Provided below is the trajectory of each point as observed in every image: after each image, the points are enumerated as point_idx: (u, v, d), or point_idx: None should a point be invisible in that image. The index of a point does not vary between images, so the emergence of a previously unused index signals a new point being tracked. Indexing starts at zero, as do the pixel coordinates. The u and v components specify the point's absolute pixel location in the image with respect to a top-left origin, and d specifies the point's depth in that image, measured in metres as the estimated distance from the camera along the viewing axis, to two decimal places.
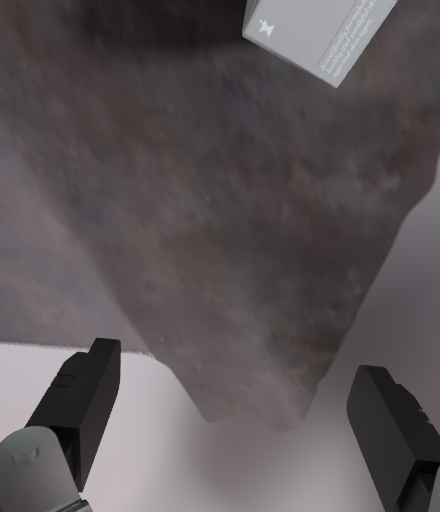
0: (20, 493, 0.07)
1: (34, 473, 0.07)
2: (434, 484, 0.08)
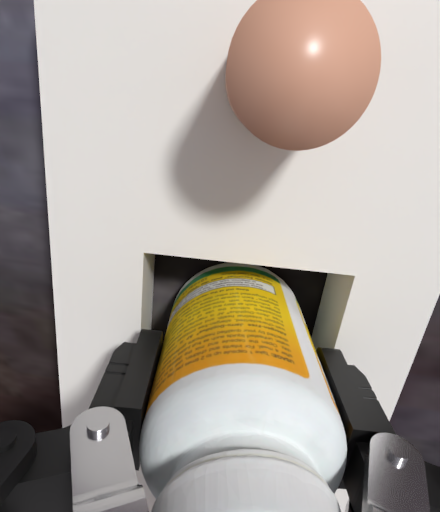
0: (100, 464, 0.08)
1: (101, 449, 0.08)
2: (369, 457, 0.08)
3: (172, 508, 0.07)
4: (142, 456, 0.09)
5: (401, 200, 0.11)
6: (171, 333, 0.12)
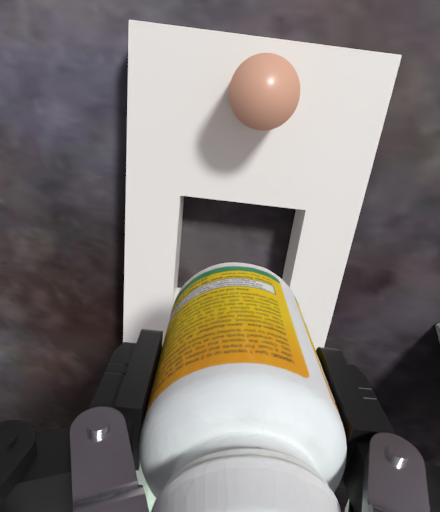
0: (100, 464, 0.08)
1: (101, 449, 0.08)
2: (369, 457, 0.08)
3: (173, 507, 0.07)
4: (142, 456, 0.09)
5: (329, 163, 0.19)
6: (171, 333, 0.12)
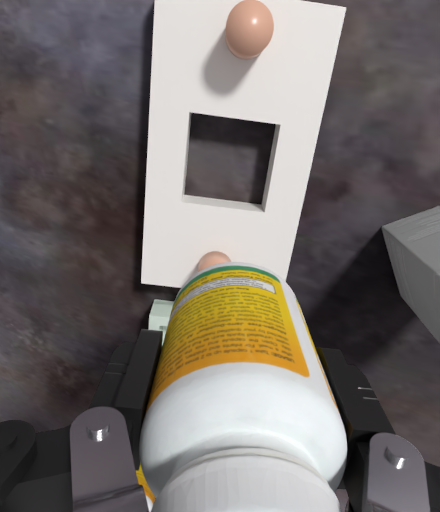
0: (100, 464, 0.08)
1: (101, 450, 0.08)
2: (369, 457, 0.08)
3: (173, 506, 0.07)
4: (142, 456, 0.09)
5: (297, 88, 0.27)
6: (171, 332, 0.12)
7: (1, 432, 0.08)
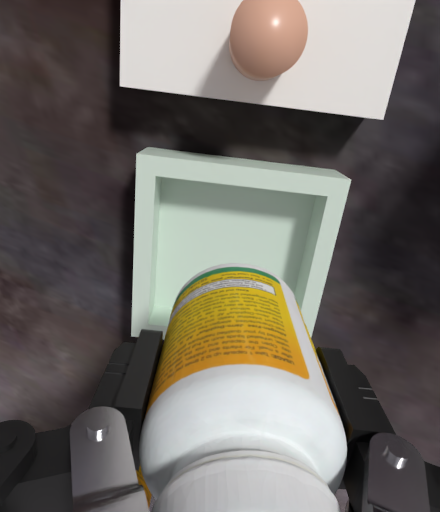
0: (100, 464, 0.08)
1: (102, 449, 0.08)
2: (369, 457, 0.08)
3: (172, 509, 0.07)
4: (142, 457, 0.09)
5: None
6: (171, 334, 0.12)
7: (1, 432, 0.08)
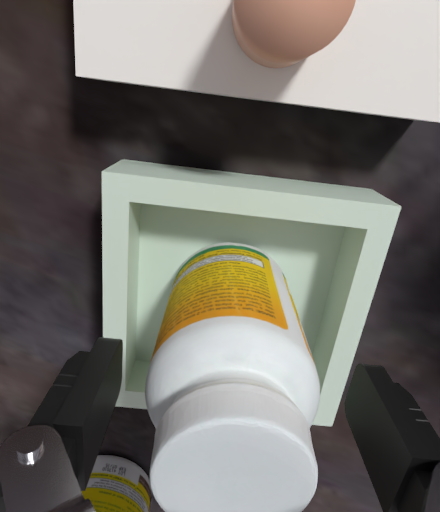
0: (24, 491, 0.07)
1: (38, 471, 0.07)
2: (431, 482, 0.08)
3: (172, 421, 0.09)
4: (148, 395, 0.11)
5: None
6: (172, 300, 0.13)
7: None
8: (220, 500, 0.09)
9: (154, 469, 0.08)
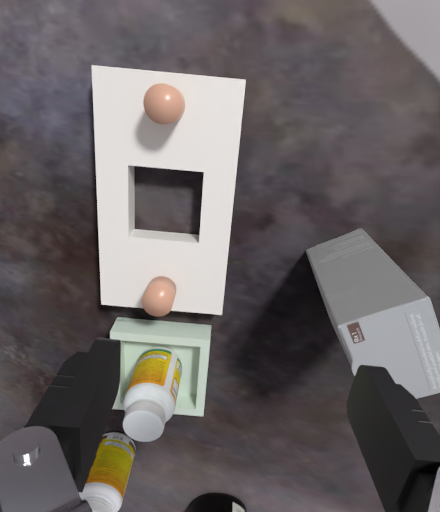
0: (20, 493, 0.07)
1: (34, 473, 0.07)
2: (434, 484, 0.08)
3: (127, 411, 0.35)
4: (124, 405, 0.38)
5: (214, 143, 0.33)
6: (134, 373, 0.40)
7: None
8: (140, 431, 0.36)
9: (123, 423, 0.35)
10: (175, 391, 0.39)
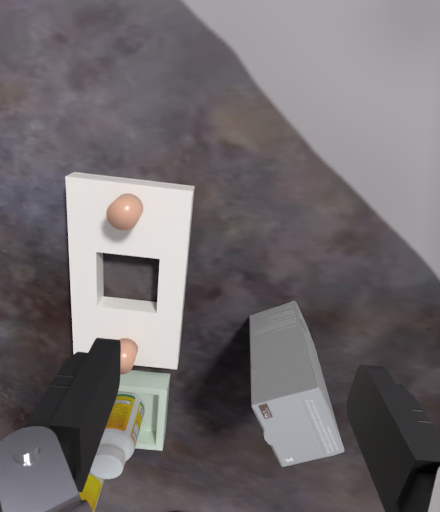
0: (20, 493, 0.07)
1: (34, 473, 0.07)
2: (434, 484, 0.08)
3: None
4: None
5: (167, 237, 0.40)
6: None
7: None
8: (103, 470, 0.43)
9: None
10: (135, 434, 0.46)
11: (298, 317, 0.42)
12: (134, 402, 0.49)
